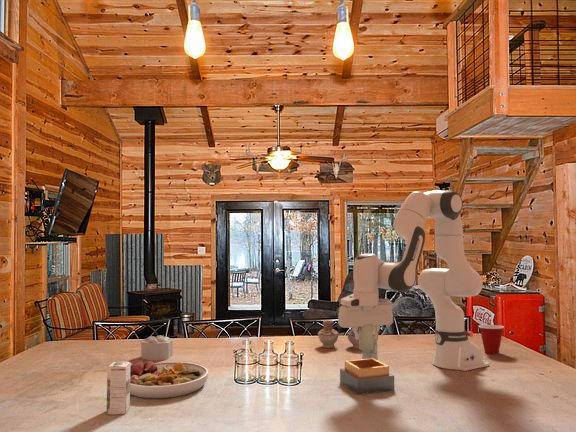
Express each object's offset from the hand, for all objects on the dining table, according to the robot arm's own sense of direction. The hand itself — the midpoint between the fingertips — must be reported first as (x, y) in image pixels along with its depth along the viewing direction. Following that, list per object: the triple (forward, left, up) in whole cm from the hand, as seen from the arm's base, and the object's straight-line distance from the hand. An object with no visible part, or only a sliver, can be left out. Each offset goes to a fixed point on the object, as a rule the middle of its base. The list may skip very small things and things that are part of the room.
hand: (366, 338), depth 179 cm
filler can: (0, 0, -4) cm, 4 cm away
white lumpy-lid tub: (+67, -67, -17) cm, 96 cm away
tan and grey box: (0, 0, -17) cm, 17 cm away
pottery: (-18, -56, -17) cm, 61 cm away
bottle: (-11, -18, -17) cm, 27 cm away
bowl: (+67, -24, -17) cm, 73 cm away
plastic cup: (-75, -24, -17) cm, 81 cm away
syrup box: (+83, -4, -17) cm, 85 cm away
